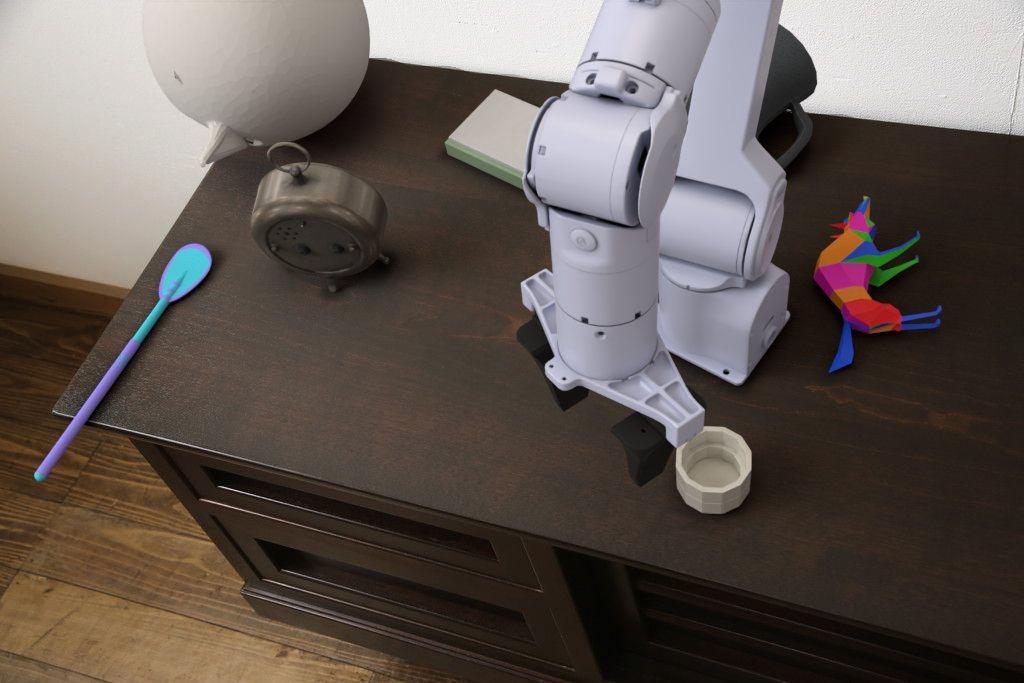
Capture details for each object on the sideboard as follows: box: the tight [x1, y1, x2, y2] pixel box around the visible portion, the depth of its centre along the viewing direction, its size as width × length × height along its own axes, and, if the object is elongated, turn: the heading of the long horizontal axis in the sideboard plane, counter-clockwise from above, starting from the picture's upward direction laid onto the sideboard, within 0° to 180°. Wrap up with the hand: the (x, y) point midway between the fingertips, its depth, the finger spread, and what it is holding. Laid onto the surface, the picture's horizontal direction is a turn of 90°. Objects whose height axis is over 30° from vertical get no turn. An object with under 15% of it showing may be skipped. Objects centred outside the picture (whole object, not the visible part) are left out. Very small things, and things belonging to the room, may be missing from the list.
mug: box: [685, 23, 818, 171], centre depth 95 cm, size 12×9×11 cm
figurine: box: [813, 195, 943, 374], centre depth 85 cm, size 4×15×9 cm
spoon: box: [33, 242, 213, 482], centre depth 93 cm, size 25×4×1 cm, turn 156°
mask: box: [141, 0, 371, 168], centre depth 100 cm, size 22×18×20 cm
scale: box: [444, 89, 541, 191], centre depth 100 cm, size 11×8×2 cm
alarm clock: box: [249, 141, 390, 293], centre depth 89 cm, size 11×5×16 cm, turn 84°
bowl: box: [675, 425, 753, 515], centre depth 77 cm, size 5×5×4 cm
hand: (609, 437), depth 69 cm, fingers open, 7 cm apart
